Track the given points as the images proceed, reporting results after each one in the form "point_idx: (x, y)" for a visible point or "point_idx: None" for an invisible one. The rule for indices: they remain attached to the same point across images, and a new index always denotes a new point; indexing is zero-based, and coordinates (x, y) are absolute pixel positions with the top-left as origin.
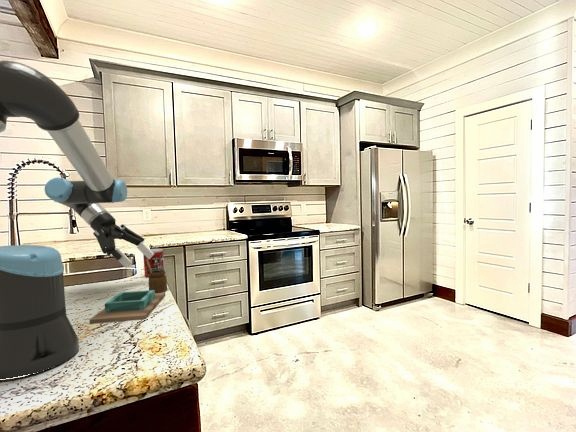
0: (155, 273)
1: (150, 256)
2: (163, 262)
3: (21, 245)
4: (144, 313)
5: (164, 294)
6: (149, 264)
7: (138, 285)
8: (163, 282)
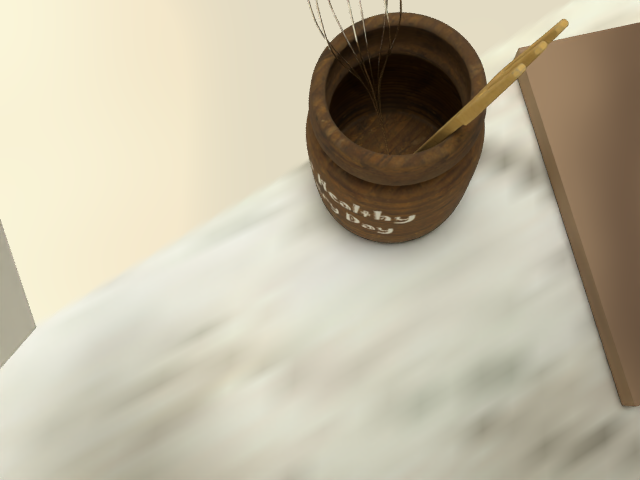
0: (481, 65)
1: (12, 283)
2: None
3: None
4: None
5: None
6: (516, 61)
7: (189, 477)
8: (427, 70)
